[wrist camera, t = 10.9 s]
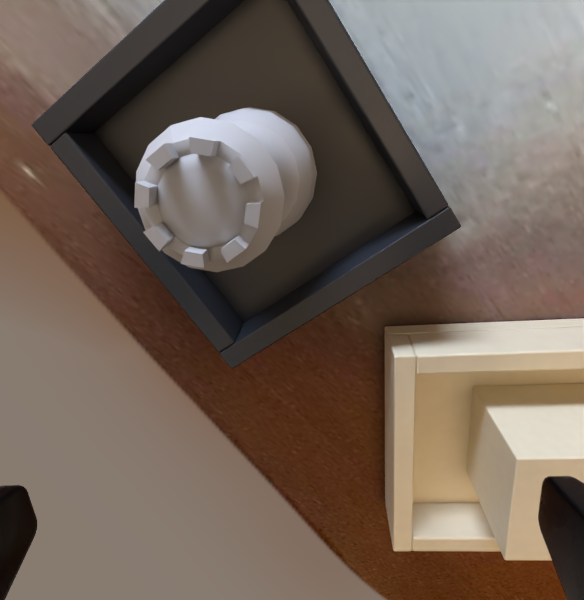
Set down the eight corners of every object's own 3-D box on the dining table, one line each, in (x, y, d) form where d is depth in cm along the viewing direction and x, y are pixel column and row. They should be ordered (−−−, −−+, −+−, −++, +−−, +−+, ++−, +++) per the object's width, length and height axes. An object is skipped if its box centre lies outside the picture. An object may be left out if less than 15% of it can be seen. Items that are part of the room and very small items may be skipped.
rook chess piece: (174, 143, 16) (39, 146, 8) (285, 84, 15) (246, 29, 7) (230, 253, 17) (159, 341, 10) (336, 205, 16) (347, 261, 9)
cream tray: (384, 502, 22) (393, 551, 19) (384, 326, 19) (394, 356, 16) (632, 501, 21) (676, 553, 18) (677, 313, 18) (739, 344, 15)
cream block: (466, 472, 20) (504, 561, 16) (472, 385, 18) (516, 459, 14) (570, 470, 20) (637, 561, 15) (585, 382, 18) (665, 457, 14)
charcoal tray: (440, 213, 17) (462, 226, 14) (244, 338, 19) (231, 369, 17) (280, -56, 14) (270, -100, 12) (76, 127, 17) (30, 124, 14)
